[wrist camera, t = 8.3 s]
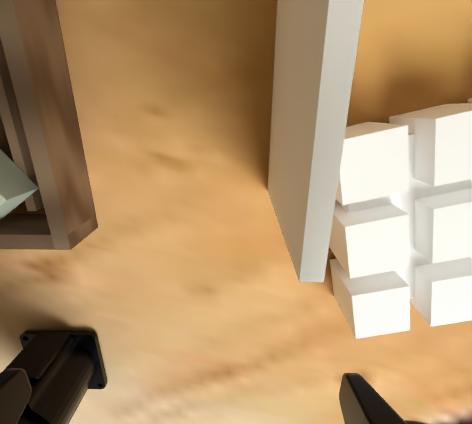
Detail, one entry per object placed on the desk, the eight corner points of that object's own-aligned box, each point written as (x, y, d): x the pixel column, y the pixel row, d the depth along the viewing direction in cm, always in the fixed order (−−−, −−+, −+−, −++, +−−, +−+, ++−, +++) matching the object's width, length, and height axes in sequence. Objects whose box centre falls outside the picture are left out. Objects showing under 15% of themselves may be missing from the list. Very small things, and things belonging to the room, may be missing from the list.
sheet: (278, 190, 19) (323, 282, 9) (267, 190, 19) (299, 281, 9) (292, -19, 15) (406, -300, 5) (278, -19, 15) (360, -300, 5)
